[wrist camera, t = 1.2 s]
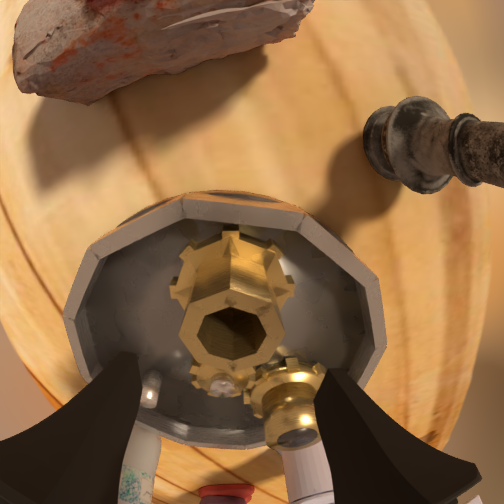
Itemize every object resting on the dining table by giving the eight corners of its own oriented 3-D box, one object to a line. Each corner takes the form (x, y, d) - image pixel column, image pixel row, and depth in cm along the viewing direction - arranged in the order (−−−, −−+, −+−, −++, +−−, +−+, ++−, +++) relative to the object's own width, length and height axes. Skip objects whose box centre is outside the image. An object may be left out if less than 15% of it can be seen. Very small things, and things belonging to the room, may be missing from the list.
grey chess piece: (423, 189, 17) (556, 245, 6) (356, 179, 16) (505, 240, 5) (428, 113, 15) (566, 118, 3) (360, 93, 14) (509, 55, 3)
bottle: (164, 445, 27) (150, 577, 8) (114, 432, 26) (86, 558, 7) (166, 421, 24) (147, 581, 6) (109, 405, 23) (68, 556, 5)
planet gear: (302, 305, 18) (324, 359, 13) (206, 339, 19) (200, 397, 14) (264, 207, 16) (279, 236, 10) (155, 253, 16) (126, 298, 11)
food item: (257, -30, 10) (275, -121, 1) (296, 55, 13) (360, -27, 4) (74, 39, 11) (-12, -1, 2) (94, 127, 14) (-17, 126, 5)
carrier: (380, 379, 24) (405, 426, 18) (177, 438, 26) (172, 484, 20) (323, 133, 15) (375, 127, 9) (37, 271, 17) (-10, 312, 11)
